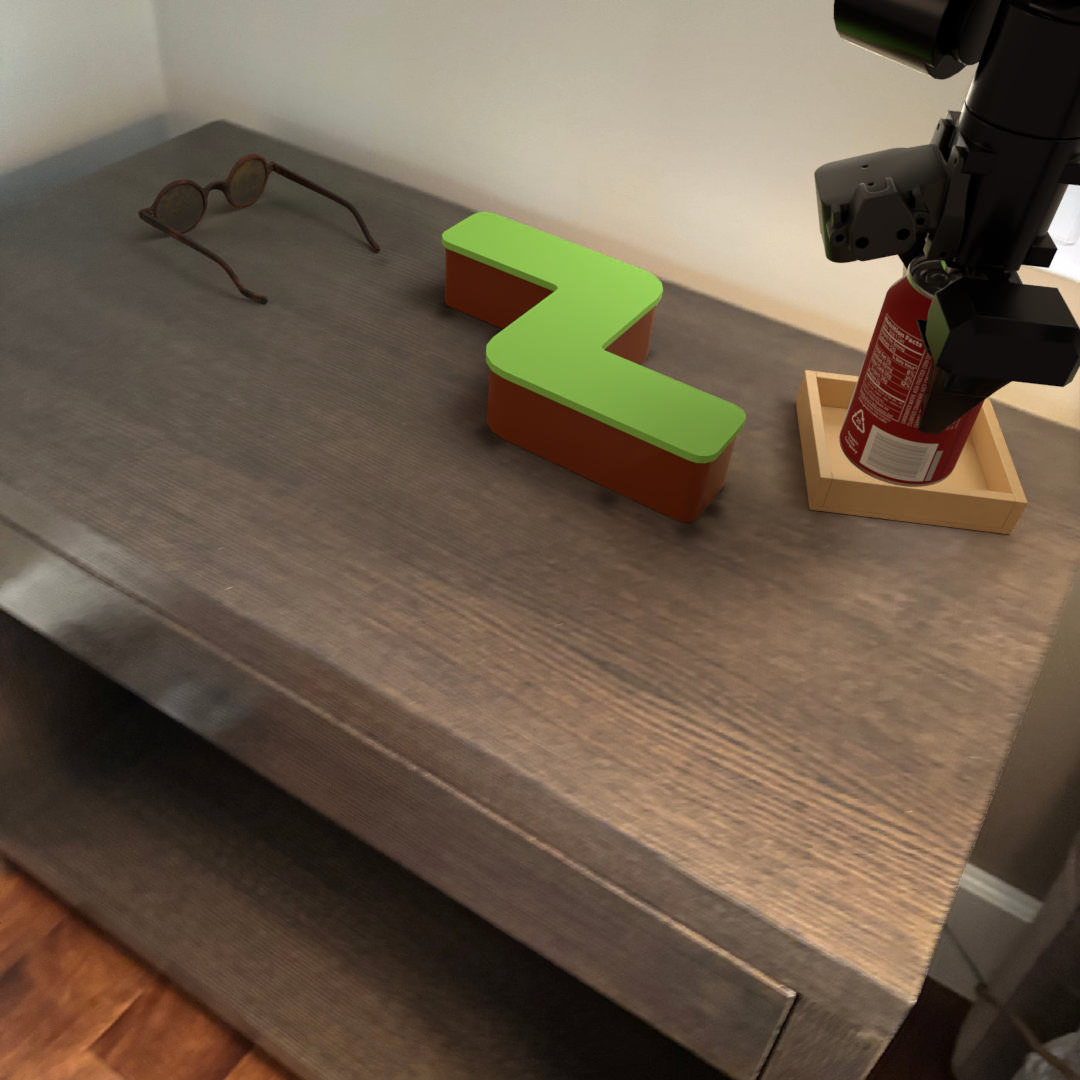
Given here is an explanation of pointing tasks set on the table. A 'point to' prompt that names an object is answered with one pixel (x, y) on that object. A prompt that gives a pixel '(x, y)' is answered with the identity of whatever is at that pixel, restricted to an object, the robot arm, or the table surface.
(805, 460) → the tray
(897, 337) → the soda can
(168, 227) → the eyeglasses
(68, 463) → the table surface
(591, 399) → the planter
